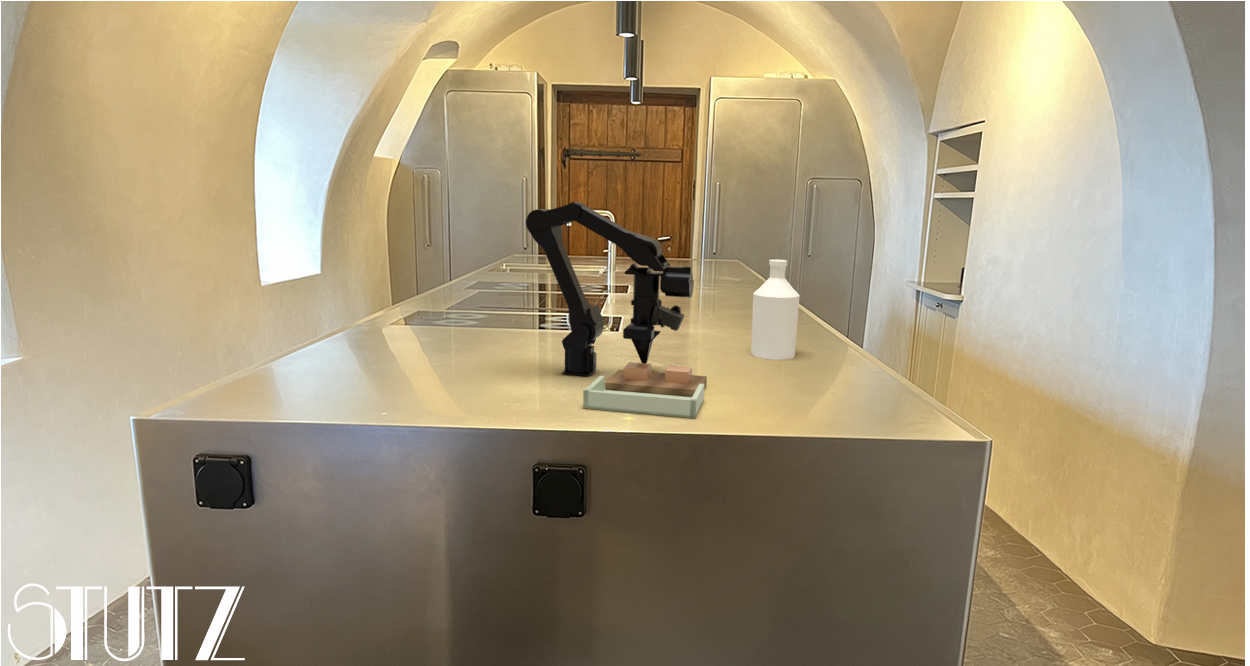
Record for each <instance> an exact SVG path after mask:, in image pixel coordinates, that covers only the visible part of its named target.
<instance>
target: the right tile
mask: <svg viewBox="0 0 1250 666" xmlns="http://www.w3.org/2000/svg"><path fill="white" fill-rule="evenodd" d="M664 371H665V372H664V373H665V382H673V383H685V384H688V383H689V382H690V380H691V378H692V375H693V367H692V366H683V365H671V364H669V365H668V367H666V369H665V370H664Z"/></svg>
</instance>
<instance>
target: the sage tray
mask: <svg viewBox="0 0 1250 666" xmlns="http://www.w3.org/2000/svg"><path fill="white" fill-rule="evenodd" d="M605 382H606V375H599V376H598V377H597V378H596V379H595V380H594V381H593V382H592V383H590V384H589V385H588V386H587V387H586V388H585V389H584V390H583V394H582V396H583V398H582V400H583V402H582V406H583V407H582V408H583V409H586V408H587V409H588V410H596V411H597V410H598V411H610V412H621V413H631V414H642V415H652V416H654V415H655V416H663V417H674V418H683V419H684V418H686V419H696V418H697V416H698V413H699V411H700V409H701V407H702V405H703V403H704V399H705V389H704V384H699V385H698V387H697V389H696V391H695V393H694V395H693V396H692V397H683V396H671V395H660V394H648V393H636V392H624V391H613V390H605Z"/></svg>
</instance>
